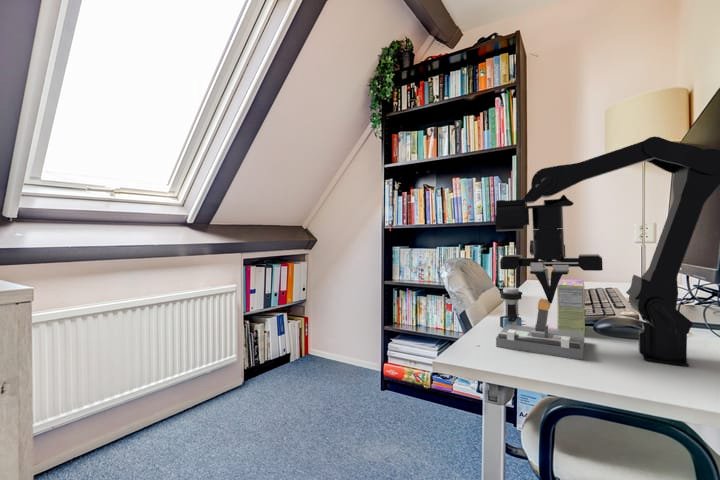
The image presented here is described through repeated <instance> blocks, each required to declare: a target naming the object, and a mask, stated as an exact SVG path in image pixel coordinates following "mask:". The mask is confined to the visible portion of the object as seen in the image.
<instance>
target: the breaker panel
mask: <svg viewBox="0 0 720 480" xmlns="http://www.w3.org/2000/svg"><path fill="white" fill-rule="evenodd" d="M495 347H496V348H504V349H510V350H515V351H522V352H523V351H524V352H528V353H529V352H530V353H535V354H542V355H549V356H555V357H561V358H569V359H575V360H581V361H583V360H584V353H585V351H584V350H585V336H584V333H576V332H568V331H560V330H557V329H551V328H550V329H549V324H546V331H545V332H541V331H536V324H535V327H534V326H533V327H532V326H526V325H521V326H517V325H509V324H507V325H506V326H505V327H504V328H502V329H501V331H499V333H498V334H497V336H496V337H495Z"/></svg>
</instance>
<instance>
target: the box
mask: <svg viewBox="0 0 720 480" xmlns="http://www.w3.org/2000/svg"><path fill="white" fill-rule="evenodd" d="M585 306H586V305H585V282H584V280H583V279H560V281H559V283H558V285H557V288H556V307H557V308H556V309H557V311H556V312H557V313H556V314H557V315H556V316H557V320H556V321H557V326H556V327H557V329H556V330H560V331H568V332H576V333H584V337H585V336H586V333H585V332H586V330H585V323H586V322H585V321H586V319H585V315H586V314H585Z"/></svg>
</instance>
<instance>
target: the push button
mask: <svg viewBox="0 0 720 480" xmlns="http://www.w3.org/2000/svg"><path fill="white" fill-rule="evenodd" d="M499 294H500V298H501V299H502V300H503V314H502V315H501V316H499V326H500V327H501V328H502V329H504V327H505V326H506V325H507V324H509V325H517V326H526V325H527V324H526V323H522V322H526V320H525V319H522V317H520V313H519V300H522V296H523V292H522V291H520V289H519V288H518V287H512V286H507V287H503V290H500V291H499Z"/></svg>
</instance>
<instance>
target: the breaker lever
mask: <svg viewBox="0 0 720 480" xmlns="http://www.w3.org/2000/svg"><path fill="white" fill-rule="evenodd" d="M551 304H552V303H550V302H549V301H548V299H547V298H542V297H540V299H539V300H538V302H537V318H536V323H535V325H536V331H541V332H545V331H546V325H548V324H547V323H548V317H549V316H548V315H549V310H550V308H551Z"/></svg>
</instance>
